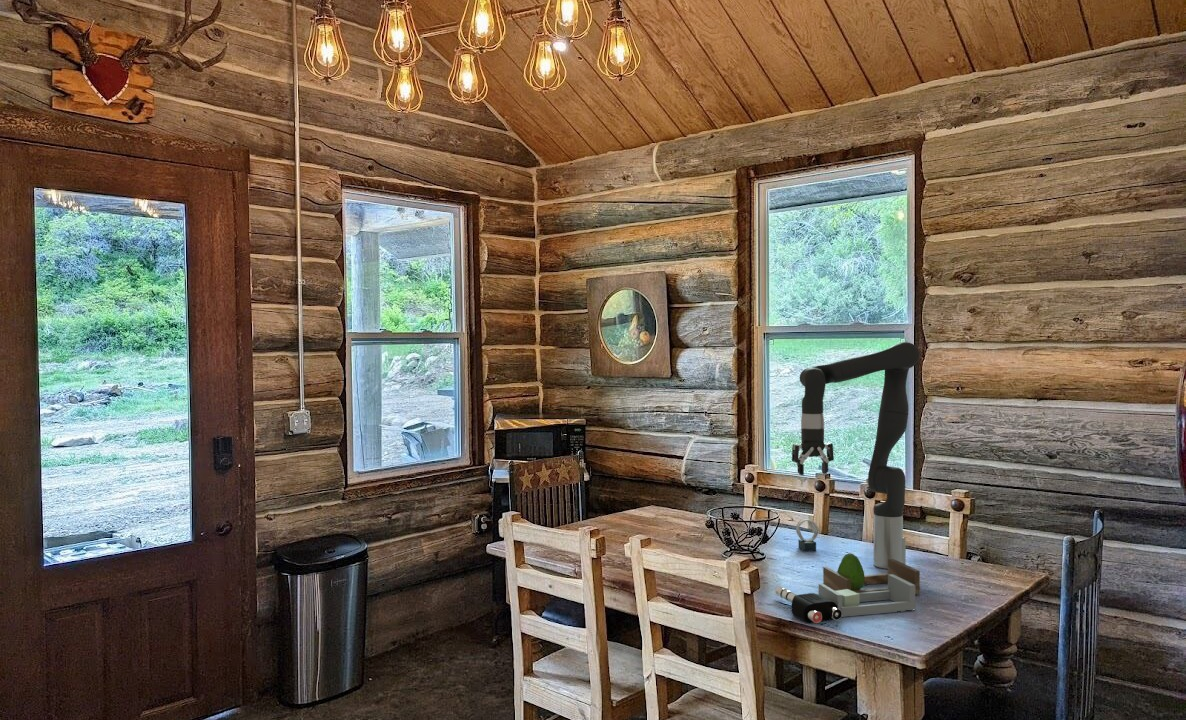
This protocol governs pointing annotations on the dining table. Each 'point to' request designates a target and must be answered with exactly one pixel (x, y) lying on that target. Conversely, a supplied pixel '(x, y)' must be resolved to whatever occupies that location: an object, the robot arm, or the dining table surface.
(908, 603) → the grey open rectangular frame
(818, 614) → the audio adapter
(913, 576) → the frame
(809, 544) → the silver ring on block
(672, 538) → the dining table surface
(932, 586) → the dining table surface
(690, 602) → the dining table surface
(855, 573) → the avocado
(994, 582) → the dining table surface
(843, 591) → the sage block
